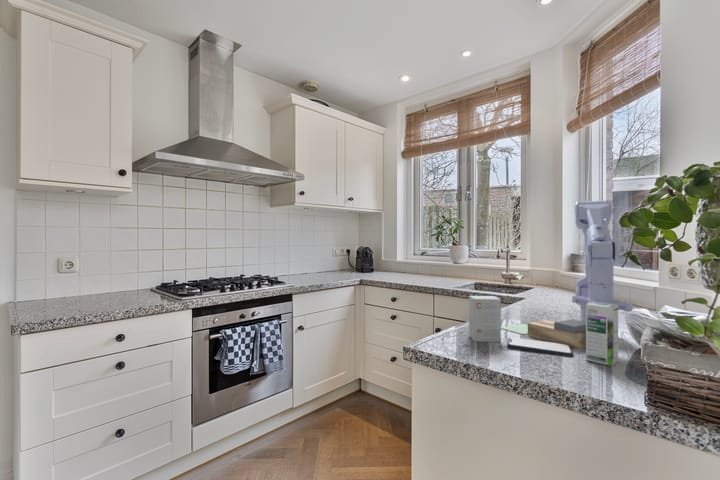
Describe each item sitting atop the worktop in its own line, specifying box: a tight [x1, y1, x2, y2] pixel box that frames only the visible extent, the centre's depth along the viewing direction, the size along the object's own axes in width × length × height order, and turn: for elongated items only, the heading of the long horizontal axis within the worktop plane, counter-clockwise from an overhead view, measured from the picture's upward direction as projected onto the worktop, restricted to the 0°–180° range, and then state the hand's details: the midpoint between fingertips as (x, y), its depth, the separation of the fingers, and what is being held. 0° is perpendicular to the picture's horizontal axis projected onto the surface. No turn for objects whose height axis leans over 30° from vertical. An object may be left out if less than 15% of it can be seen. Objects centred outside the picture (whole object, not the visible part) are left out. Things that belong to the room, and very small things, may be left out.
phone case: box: [506, 336, 574, 358], centre depth 96 cm, size 9×2×16 cm
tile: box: [554, 318, 586, 334], centre depth 101 cm, size 9×6×2 cm, turn 117°
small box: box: [468, 295, 502, 343], centre depth 104 cm, size 8×6×13 cm
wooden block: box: [527, 319, 586, 350], centre depth 105 cm, size 10×15×4 cm, turn 27°
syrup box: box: [585, 302, 619, 367], centre depth 86 cm, size 6×6×14 cm
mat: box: [501, 323, 528, 336], centre depth 116 cm, size 12×9×1 cm
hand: (600, 332), depth 94 cm, fingers closed
